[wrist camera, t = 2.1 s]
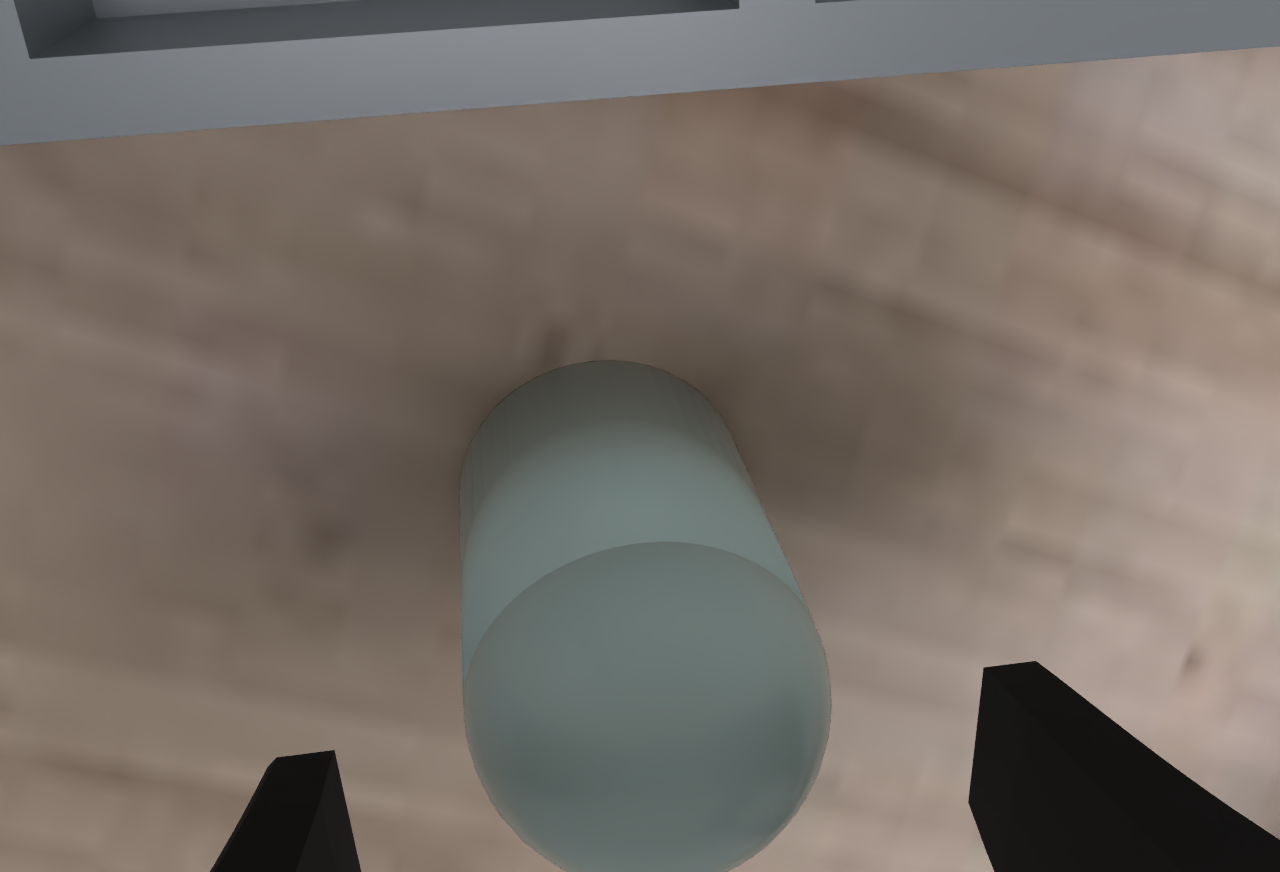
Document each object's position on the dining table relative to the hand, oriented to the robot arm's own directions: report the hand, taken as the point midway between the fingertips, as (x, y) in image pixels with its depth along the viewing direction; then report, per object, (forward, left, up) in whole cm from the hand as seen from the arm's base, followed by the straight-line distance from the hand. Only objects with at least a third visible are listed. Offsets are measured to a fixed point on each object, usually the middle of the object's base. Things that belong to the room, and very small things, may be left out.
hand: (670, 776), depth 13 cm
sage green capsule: (0, 0, -6) cm, 6 cm away
